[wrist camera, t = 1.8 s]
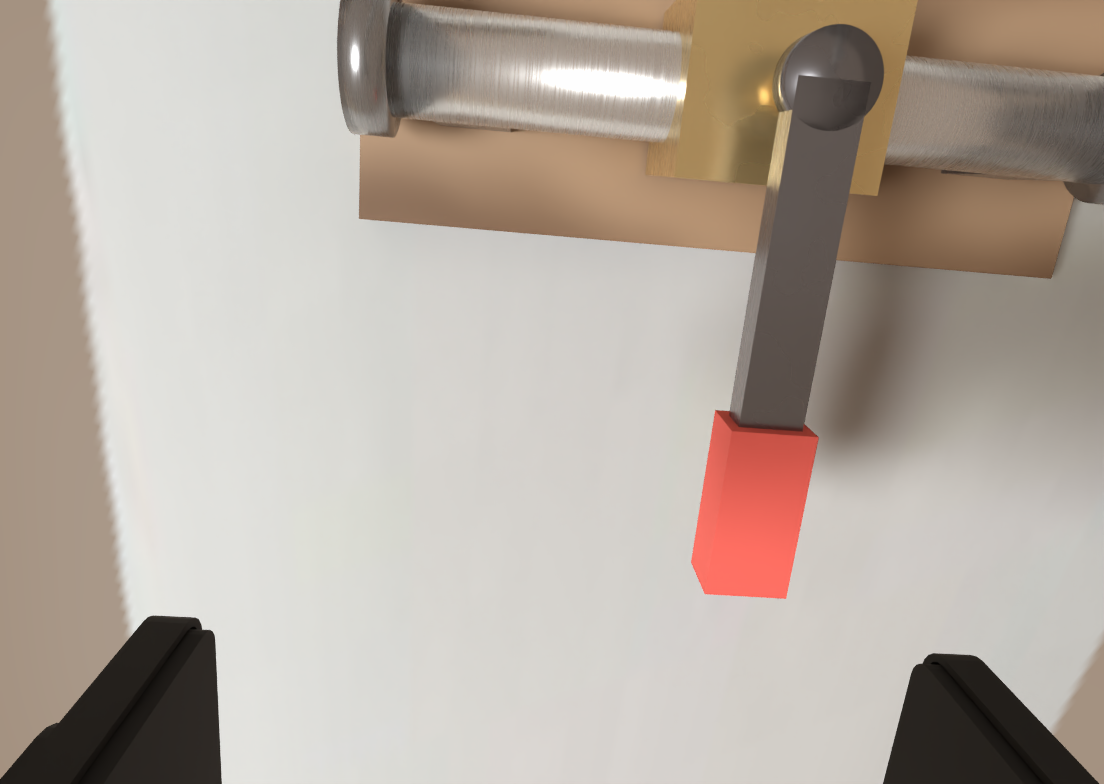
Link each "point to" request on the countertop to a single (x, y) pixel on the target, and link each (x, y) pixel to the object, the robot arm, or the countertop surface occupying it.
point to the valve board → (733, 208)
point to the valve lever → (785, 317)
